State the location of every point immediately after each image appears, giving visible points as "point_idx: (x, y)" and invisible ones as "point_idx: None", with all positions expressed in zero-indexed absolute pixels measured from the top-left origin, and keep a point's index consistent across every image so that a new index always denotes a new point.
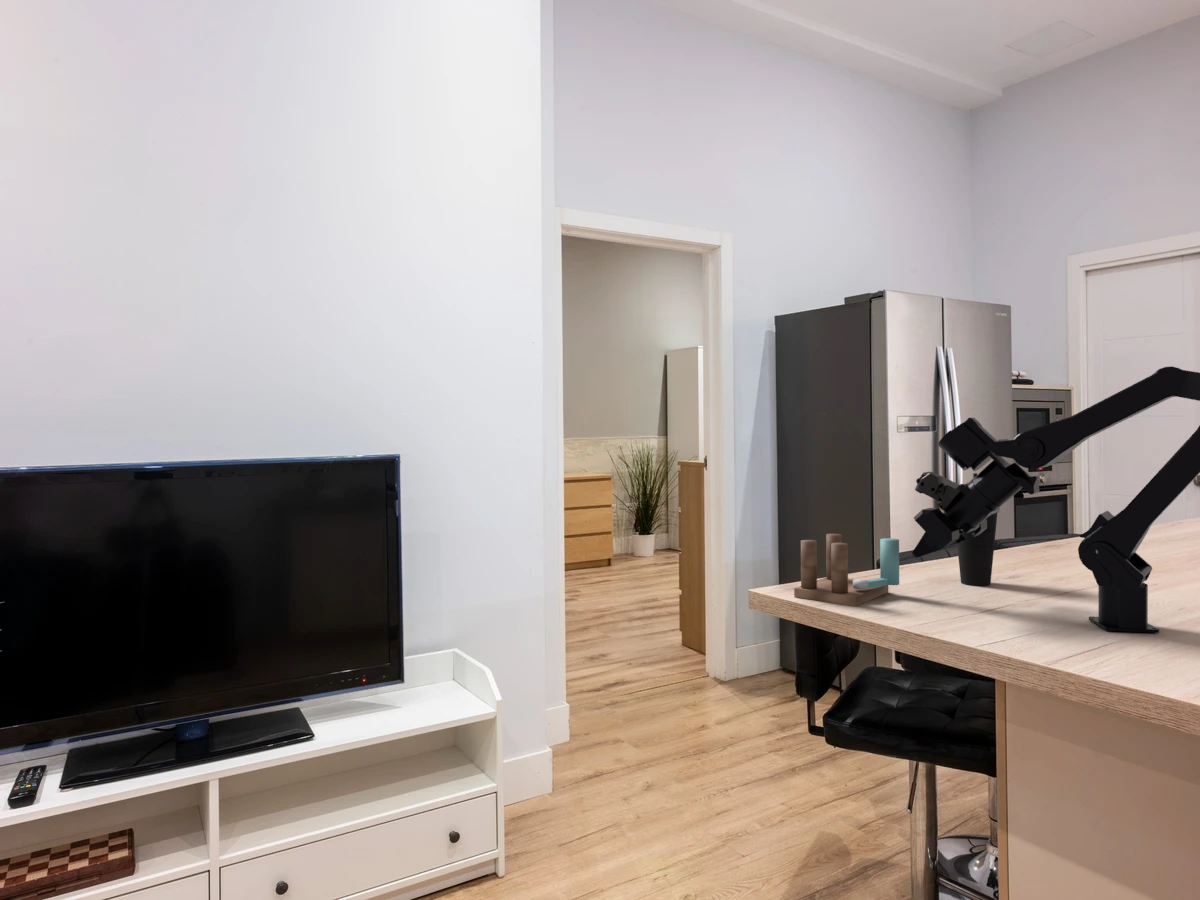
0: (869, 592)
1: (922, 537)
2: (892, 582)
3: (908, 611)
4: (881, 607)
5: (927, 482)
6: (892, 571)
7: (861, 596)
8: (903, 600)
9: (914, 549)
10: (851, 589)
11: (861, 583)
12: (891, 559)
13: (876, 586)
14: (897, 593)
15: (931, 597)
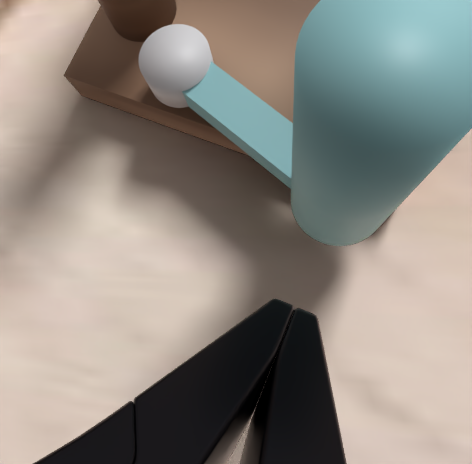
0: (191, 122)
1: (104, 419)
2: (293, 208)
3: (36, 284)
4: (85, 185)
5: None
6: (293, 190)
7: (118, 97)
8: (238, 271)
9: (251, 317)
10: (211, 48)
11: (139, 66)
12: (294, 156)
13: (229, 139)
14: (389, 248)
15: (345, 405)
